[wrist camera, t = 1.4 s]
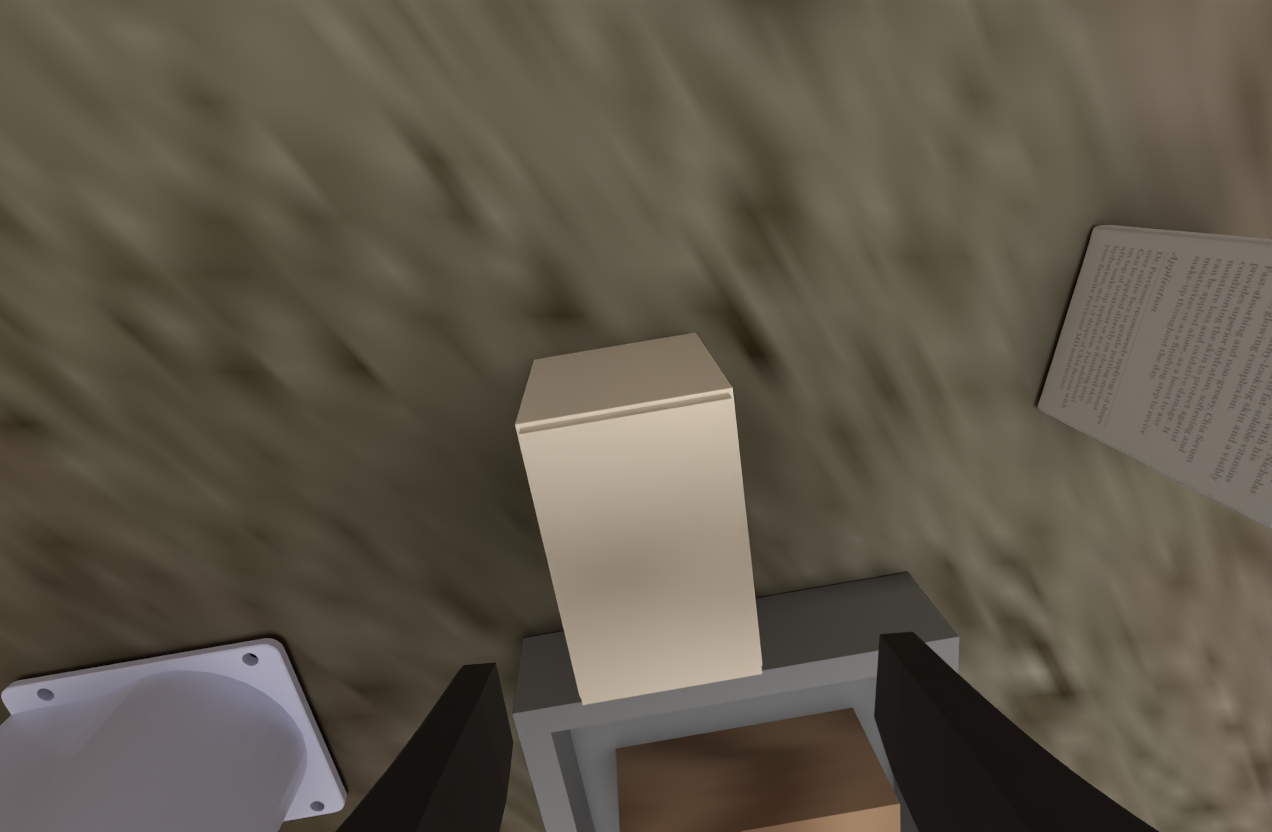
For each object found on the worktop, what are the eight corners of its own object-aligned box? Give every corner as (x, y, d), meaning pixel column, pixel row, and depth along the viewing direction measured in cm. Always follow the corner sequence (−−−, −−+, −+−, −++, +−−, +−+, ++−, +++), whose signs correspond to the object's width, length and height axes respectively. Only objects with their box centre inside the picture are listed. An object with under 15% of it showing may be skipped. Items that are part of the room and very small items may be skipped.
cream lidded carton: (581, 577, 23) (579, 708, 17) (534, 358, 20) (513, 431, 14) (722, 553, 23) (766, 676, 17) (695, 331, 20) (736, 393, 15)
